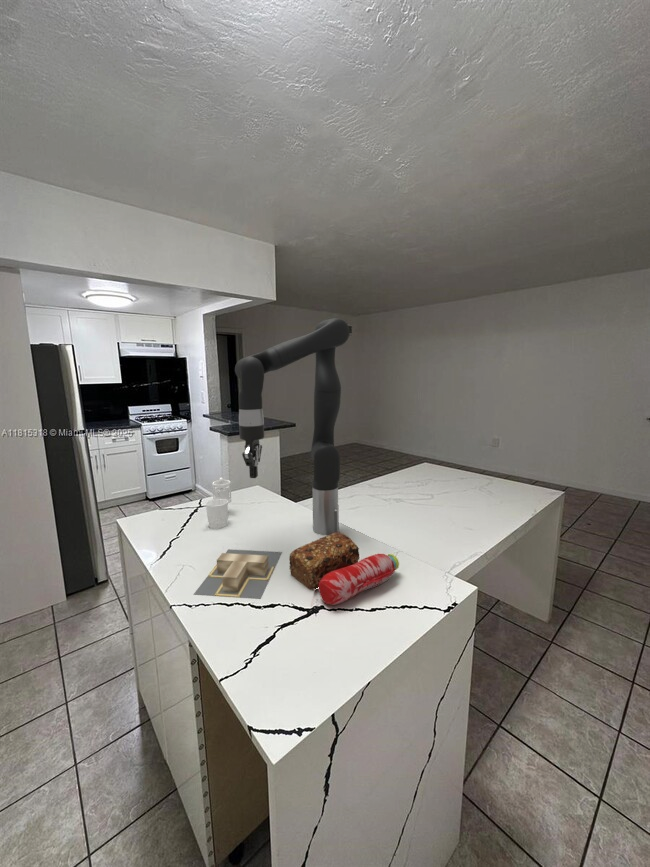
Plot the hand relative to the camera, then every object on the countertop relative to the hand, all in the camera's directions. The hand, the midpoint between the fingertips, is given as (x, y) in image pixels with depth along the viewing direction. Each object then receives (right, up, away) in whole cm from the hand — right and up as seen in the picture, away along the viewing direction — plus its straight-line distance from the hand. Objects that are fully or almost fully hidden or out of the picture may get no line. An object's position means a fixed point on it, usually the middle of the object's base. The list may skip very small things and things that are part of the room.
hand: (253, 477), depth 113 cm
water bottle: (+32, -28, -15) cm, 45 cm away
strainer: (-20, -20, +34) cm, 44 cm away
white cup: (-18, -22, +22) cm, 36 cm away
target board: (-1, -27, -10) cm, 29 cm away
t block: (-2, -27, -13) cm, 30 cm away
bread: (+23, -27, -9) cm, 37 cm away
